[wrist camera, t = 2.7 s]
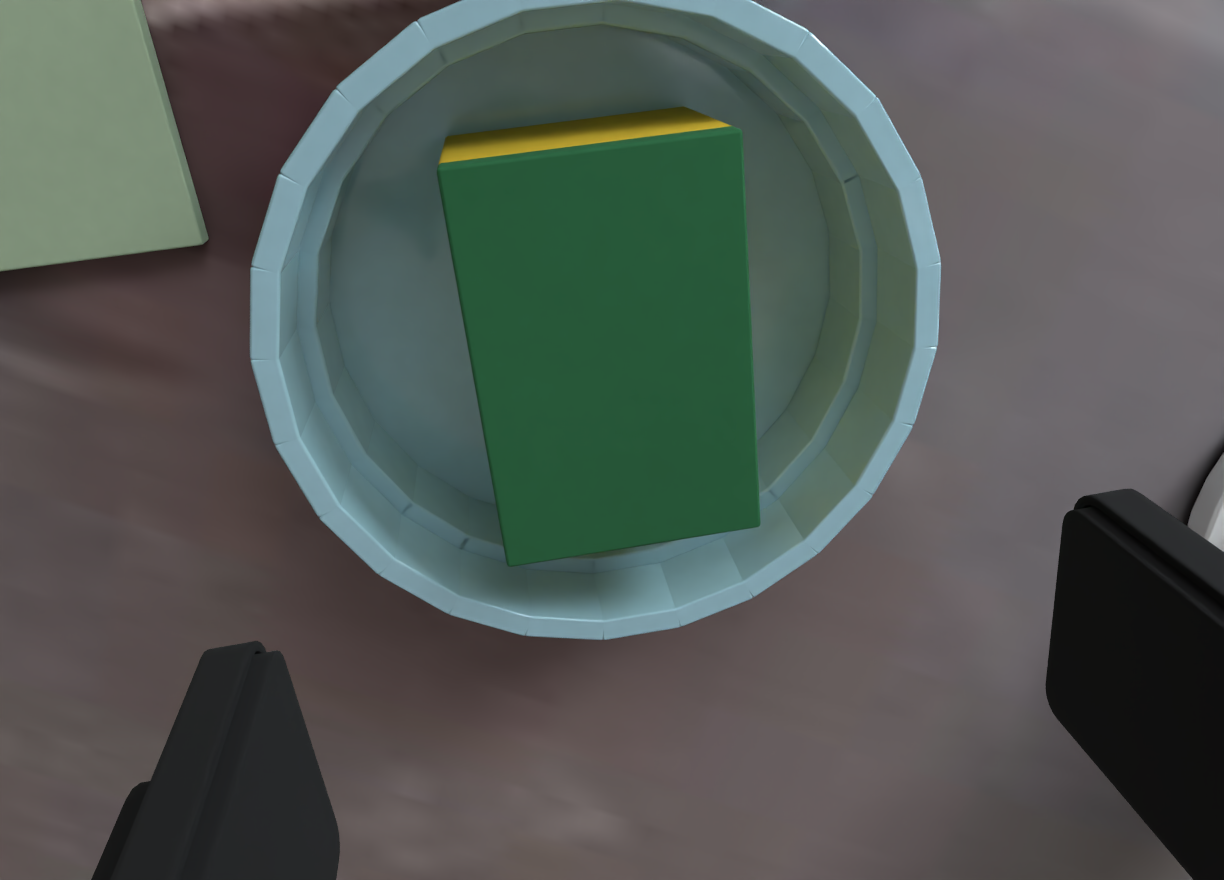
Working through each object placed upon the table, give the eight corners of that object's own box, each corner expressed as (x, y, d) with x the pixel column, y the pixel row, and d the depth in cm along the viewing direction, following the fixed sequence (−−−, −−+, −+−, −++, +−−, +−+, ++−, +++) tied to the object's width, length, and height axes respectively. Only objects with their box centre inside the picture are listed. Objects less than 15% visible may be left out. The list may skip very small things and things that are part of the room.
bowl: (654, -170, 21) (702, -221, 17) (951, 337, 27) (1046, 400, 23) (160, 243, 23) (84, 297, 19) (537, 627, 29) (548, 737, 25)
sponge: (443, 135, 23) (435, 168, 18) (686, 105, 23) (743, 128, 18) (501, 466, 27) (507, 568, 22) (709, 434, 27) (761, 528, 22)
